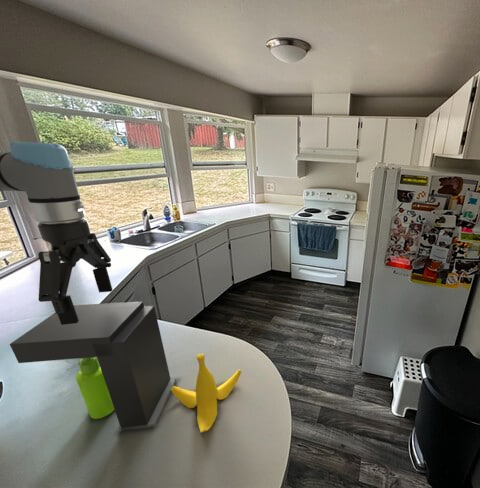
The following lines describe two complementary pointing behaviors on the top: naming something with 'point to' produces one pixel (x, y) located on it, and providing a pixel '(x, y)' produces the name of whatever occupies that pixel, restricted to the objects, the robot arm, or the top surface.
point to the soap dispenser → (94, 388)
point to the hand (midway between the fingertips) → (90, 305)
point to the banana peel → (205, 394)
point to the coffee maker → (110, 355)
